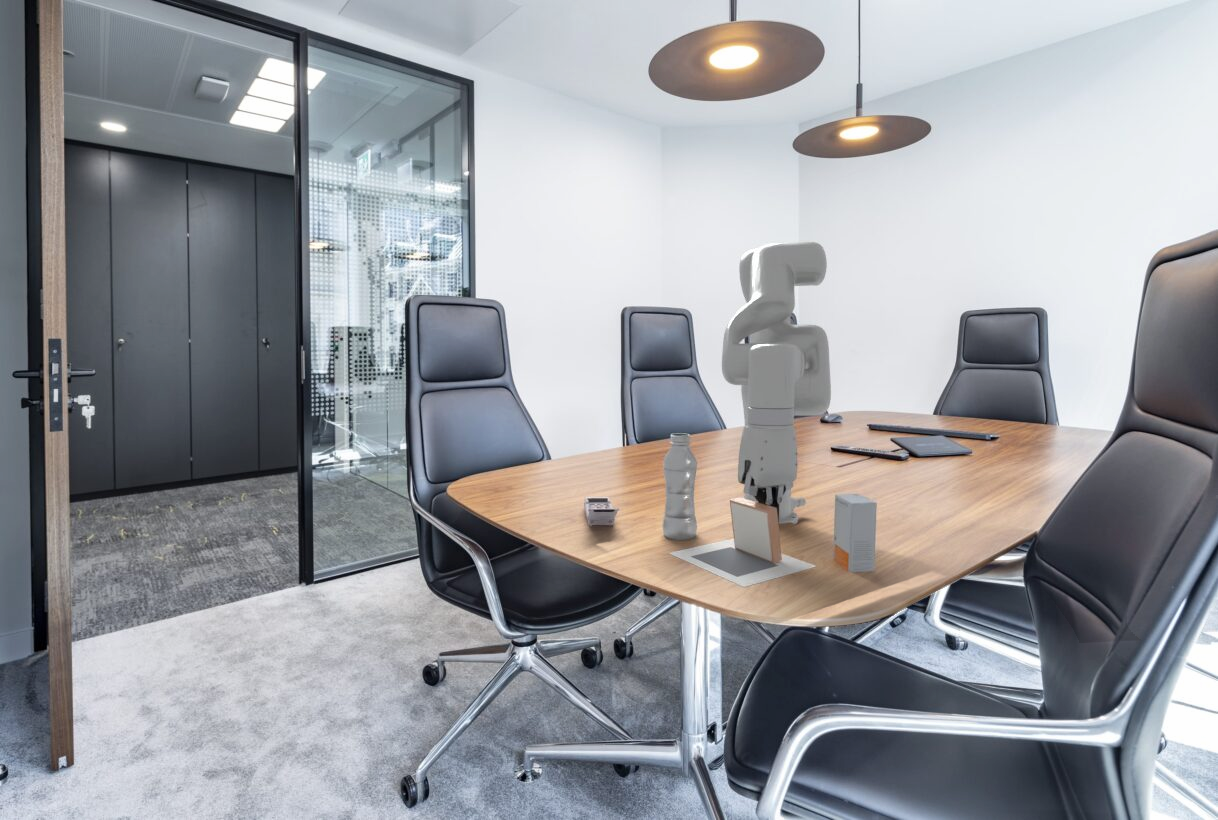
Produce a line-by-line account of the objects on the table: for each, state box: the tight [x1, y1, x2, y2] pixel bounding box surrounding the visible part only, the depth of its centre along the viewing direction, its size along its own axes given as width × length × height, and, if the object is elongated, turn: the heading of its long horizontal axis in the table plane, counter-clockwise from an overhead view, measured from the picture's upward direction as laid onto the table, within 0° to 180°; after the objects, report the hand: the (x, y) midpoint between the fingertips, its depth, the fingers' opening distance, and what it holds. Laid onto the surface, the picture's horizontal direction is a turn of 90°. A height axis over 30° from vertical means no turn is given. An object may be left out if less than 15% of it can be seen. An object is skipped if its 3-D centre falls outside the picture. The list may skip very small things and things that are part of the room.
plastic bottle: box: [661, 432, 698, 541], centre depth 114 cm, size 6×7×20 cm
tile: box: [729, 496, 782, 564], centre depth 103 cm, size 2×9×9 cm, turn 32°
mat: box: [668, 537, 818, 588], centre depth 102 cm, size 16×18×1 cm
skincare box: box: [832, 493, 878, 573], centre depth 98 cm, size 6×4×12 cm
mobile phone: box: [583, 496, 620, 526], centre depth 130 cm, size 6×6×25 cm
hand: (768, 525), depth 104 cm, fingers closed
